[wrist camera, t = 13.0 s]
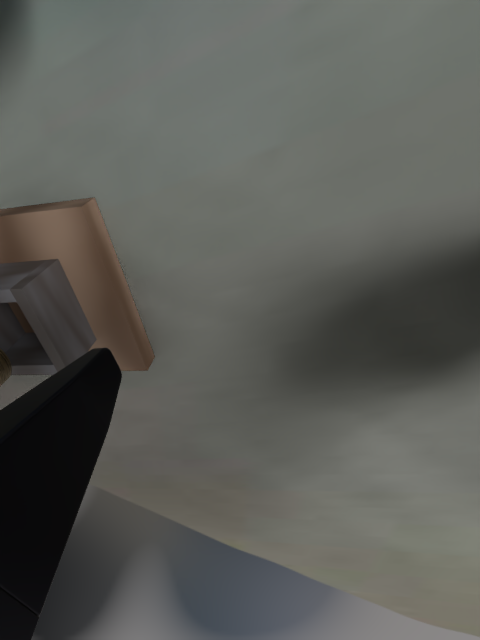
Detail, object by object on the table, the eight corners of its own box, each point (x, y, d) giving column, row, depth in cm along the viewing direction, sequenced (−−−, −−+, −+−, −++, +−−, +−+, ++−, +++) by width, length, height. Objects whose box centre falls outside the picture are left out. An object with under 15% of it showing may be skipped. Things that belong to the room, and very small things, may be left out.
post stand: (94, 197, 22) (44, 231, 18) (154, 356, 29) (127, 407, 25) (-70, 218, 25) (-145, 251, 21) (20, 358, 31) (-24, 404, 27)
